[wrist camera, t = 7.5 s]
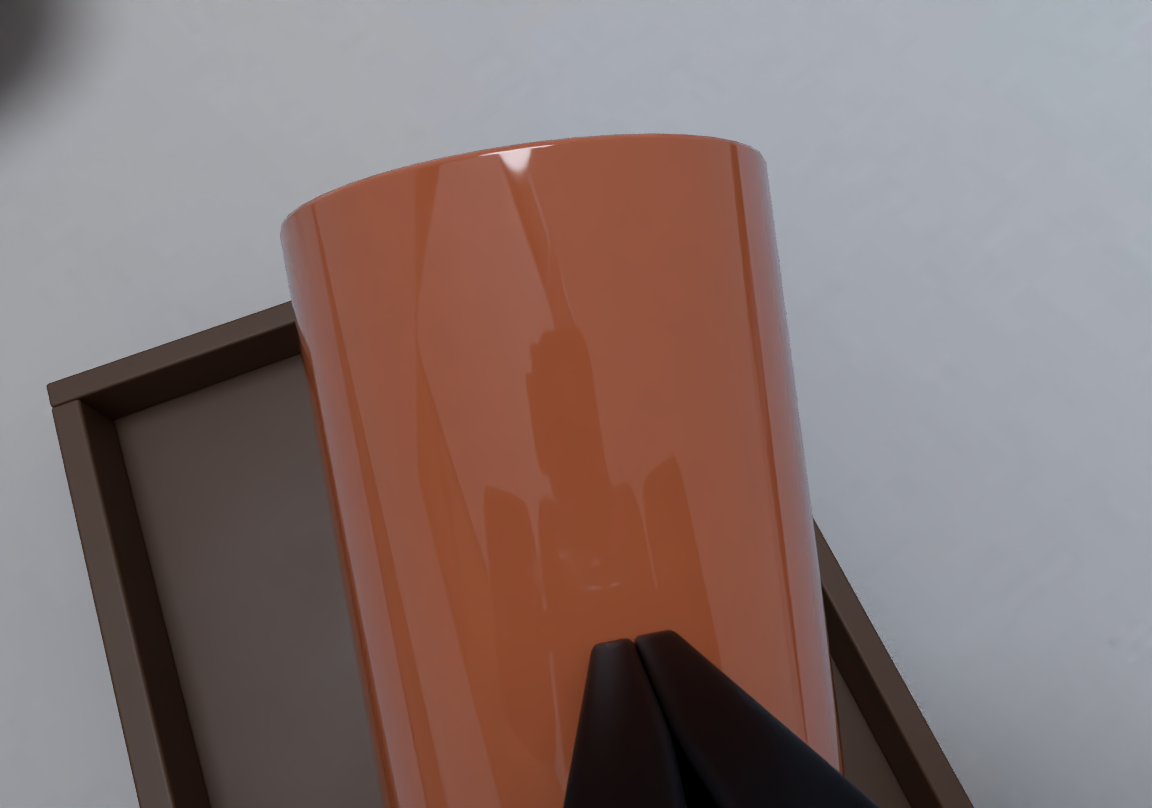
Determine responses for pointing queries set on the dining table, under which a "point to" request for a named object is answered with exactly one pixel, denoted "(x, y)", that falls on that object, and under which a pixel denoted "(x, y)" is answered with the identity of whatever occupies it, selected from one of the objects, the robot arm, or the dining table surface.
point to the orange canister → (555, 446)
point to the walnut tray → (303, 589)
